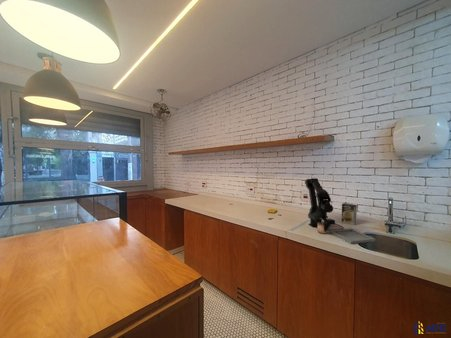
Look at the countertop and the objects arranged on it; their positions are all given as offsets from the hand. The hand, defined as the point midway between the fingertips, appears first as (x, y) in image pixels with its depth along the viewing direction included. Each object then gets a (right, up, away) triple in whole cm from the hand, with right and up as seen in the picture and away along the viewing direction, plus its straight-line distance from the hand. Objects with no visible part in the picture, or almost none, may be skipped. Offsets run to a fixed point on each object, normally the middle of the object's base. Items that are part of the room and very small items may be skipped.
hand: (322, 230), depth 133 cm
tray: (+16, -2, -8) cm, 18 cm away
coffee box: (+33, -1, +20) cm, 39 cm away
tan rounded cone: (0, -1, 0) cm, 1 cm away
